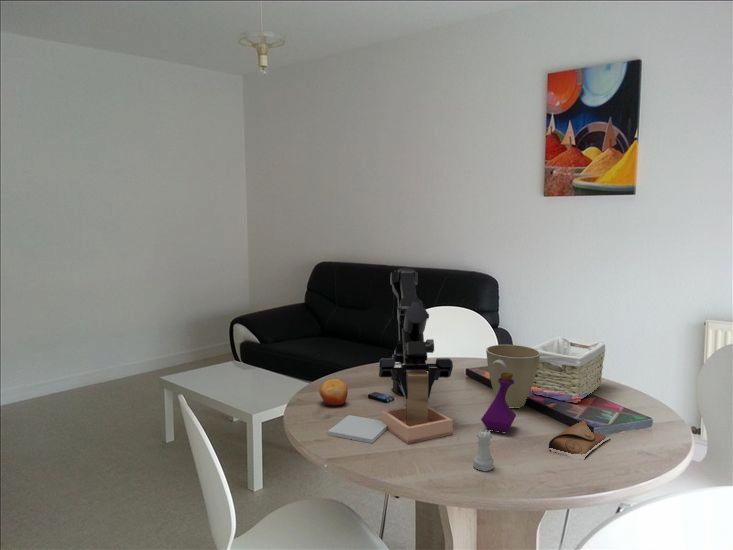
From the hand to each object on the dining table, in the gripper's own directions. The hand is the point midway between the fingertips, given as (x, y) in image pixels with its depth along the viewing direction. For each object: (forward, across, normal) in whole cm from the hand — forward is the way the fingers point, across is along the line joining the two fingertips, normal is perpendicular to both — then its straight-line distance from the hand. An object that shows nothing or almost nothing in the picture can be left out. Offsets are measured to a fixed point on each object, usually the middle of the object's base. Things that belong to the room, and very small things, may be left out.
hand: (417, 398), depth 136 cm
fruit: (-8, -22, +21) cm, 31 cm away
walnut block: (+4, 0, +6) cm, 7 cm away
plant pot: (-8, +29, +20) cm, 37 cm away
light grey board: (+6, -14, +7) cm, 17 cm away
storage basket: (-16, +50, +29) cm, 60 cm away
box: (+5, 0, +7) cm, 9 cm away
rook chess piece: (+20, +12, -7) cm, 25 cm away
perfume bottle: (+5, +21, +7) cm, 23 cm away
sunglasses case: (+12, +38, +1) cm, 40 cm away
